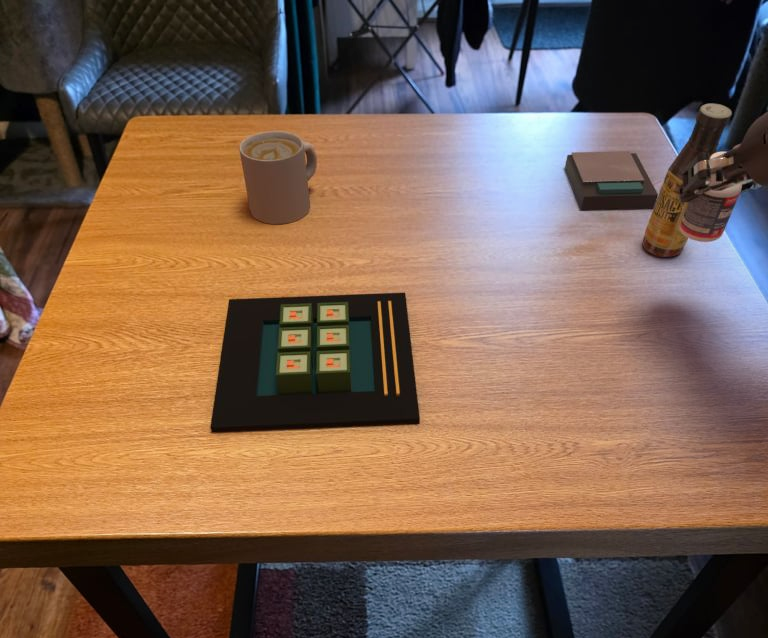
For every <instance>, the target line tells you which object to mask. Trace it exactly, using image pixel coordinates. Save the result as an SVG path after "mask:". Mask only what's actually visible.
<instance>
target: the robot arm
mask: <svg viewBox="0 0 768 638" xmlns="http://www.w3.org/2000/svg"><path fill="white" fill-rule="evenodd" d="M725 152H726V153H724V154H721V155H719V156H717V157H715V158H712V159H711V160H710V157H709V153H705V152H703V153H700V154H699V155H697V156H696V157H695V158H694V159H693V160H692V161H691V162H690V163H689V164H688V165H687V166H686V167H685V168H684V169H683V171H682V180H683V183H682V184H681V185H680V186H679V199H681V202H682V203H686V202H689V201H691V200H693V199H694V198H696V197H698V196H700V195H701V194H703V193H705V192H707V191H710V190H714V191H722V190H724V189H727V188H729V187H732V186H735V185H737V184H742V189H741V192H740V194H739V196H740V195H742V194H744V193H746V192H748V191H749V190H758V189H759V188H762V187H764V188H768V111H766V112H765V113H764V114H762V115H761V116H759V117H758V118H757V119H755V120H754V122H753V123H752V124H751V125H750V126H749V128H748V129H747V131H746V133H745V134H744V137H743V139H742V141H741V143H739V144H736V145H734V146H733V147H732V148H731V149H730V150H728V151H725ZM723 175H724V178H725V179H726V180H727V181H724V182H723ZM709 180H710V182H709V183H708V184H706V181H709Z"/></svg>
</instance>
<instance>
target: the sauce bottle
mask: <svg viewBox="0 0 768 638" xmlns="http://www.w3.org/2000/svg"><path fill="white" fill-rule="evenodd" d="M732 115H733V112H732V110H731V109H730V108H729V107H727V106H725V105H723V104H719V103H706V104H703V105H701V106H700V108H699V110H698V112H697V115H696V117H695V124H694V127H693V129H692V131H691V134H690V136H689V138H688V140H687V142H686V143H685V144H684V146H683V147H682V149H681V150H680V151H679V153H678V155H677V156H676V157H675V159H674V160H673V162H672V163H671V165H670V166H669V167H668V169H667V171H666V174H665V177H664V179H663V182H662V185H661V187H660V190H659V193H658V196H657V199H656V202H655V205H654V208H653V209H652V211H651V215H650V218H649V219H648V223H647V225H646V228H645V230H644V235H643V239H642V244H643V248H644V250H645V251H646V252H648V253H650V254H652V255H654V256H656V257H658V258H671V257H672V258H673V257H676V256H678V255H679V254H680V253H681V252H682V251H683V249H684V247H685V246H686V244H687V242H688V239H689V238H687V237H686V236H684V235H683V234H682V233H681V231H680V223H681V220H682V218H683V215H684V213H685V210H686V207H687V205H688V202H686V203H682V202H681V199H679V186H680V185H681V184H682V183H683V180H682V171H683V169H684V168H685V167H686V166H687V165H688V164H689V163H690V162H691V161H692V160H693V159H694V158H695V157H696V156H697V155H699V154H700V153H703V152H705V153H709V157H711V156H712V155H713V154H714V153H717V152H718V150H717V149H718V146H719V145H720V140H721V137H722V135H723V133H724V130H725V128H726V127H727V126H728V125H729V123H730V120H731V117H732Z"/></svg>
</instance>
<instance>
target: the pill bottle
mask: <svg viewBox="0 0 768 638" xmlns="http://www.w3.org/2000/svg"><path fill="white" fill-rule="evenodd" d="M726 152H727V151H716V153H714V154H713V155H712V156H711V157H710V160H711V159H712V158H715V157H717V156H719V155H721V154H724V153H726ZM724 181H727V180H726V179H725V178H724V175H723V182H724ZM709 182H710V180H709V181H706V184H708V183H709ZM741 189H742V184H737V185H735V186H732V187H729V188H727V189H724V190H722V191H714V190H710V191H707V192H705V193H703V194H701V195H700V196H698V197H696V198H694V199H693V200H691V201H689V202H688V205H687V207H686V210H685V213H684V215H683V218H682V220H681V223H680V231H681V233H682V234H683V235H684V236H686V237H687V238H688V239H689V240H691V241H695V242H700V243H709V242H715V241H718V240H719V239H720V238H721V237H722V236H723V234H724V232H725V229H726V227H727V225H728V223H729V221H730V217H731V215H732V213H733V211H734V209H735V207H736V204H737V200H738V199H739V196H740V195H741V194H740V192H741ZM739 194H740V195H739Z"/></svg>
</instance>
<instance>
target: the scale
mask: <svg viewBox="0 0 768 638" xmlns="http://www.w3.org/2000/svg"><path fill="white" fill-rule="evenodd" d="M564 171H565V172H566V175H567V178H568V180H569V181H568V182H569V184H570V186H571V188H572V192H573V194H574V196H575V199H576V201H577V204H578V207H579V210H580V211H613V210H617V211H618V210H619V211H620V210H653V209H654V206H655V203H656V200H657V198H658V196H659V193H658V192H657V190H656V188H655V186H654V184H653V182H652V181H651V179H650V177H649V175H648V173H647V171H646V169H645V167H644V165H643V163H642V162H641V160H640V158H639V156H638V154H637V153H636V152H633V153H631V152H630V150H624V151H623V150H619V151H618V150H617V151H616V150H615V151H613V150H612V151H577V152H576V151H574V152H571V153H570V154H567V156H566V159H565V166H564Z"/></svg>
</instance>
